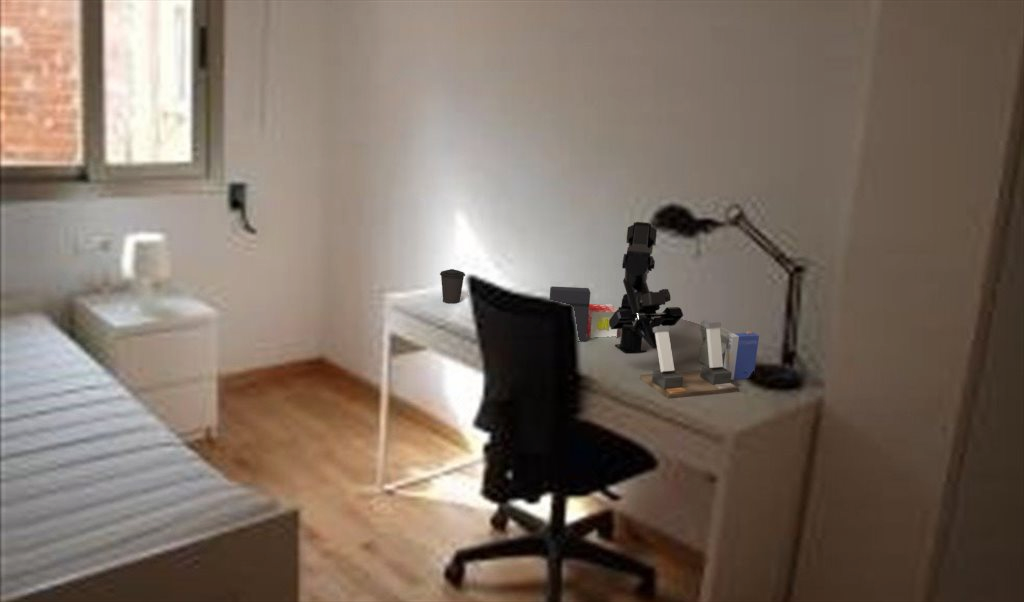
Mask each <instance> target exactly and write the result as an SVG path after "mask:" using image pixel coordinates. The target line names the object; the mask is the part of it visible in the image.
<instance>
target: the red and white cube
mask: <svg viewBox="0 0 1024 602" xmlns="http://www.w3.org/2000/svg"><path fill="white" fill-rule="evenodd" d="M617 310H618V309H617V308H616V307H615V306H614V305H612V304H611V303H607V304H606V303H602V304H601V303H599V304H597V303H596V304H595V303H590V304H589V313H588V325H587V337H588V338H589V339H595V338H594V337H607V336H609V337H611V336H616V337H617V338H618V329H611V328H610V324H609V320H610V318H611V317H612V316H613V314H614V313H615V312H616V311H617Z"/></svg>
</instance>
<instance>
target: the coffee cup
mask: <svg viewBox="0 0 1024 602" xmlns="http://www.w3.org/2000/svg"><path fill="white" fill-rule="evenodd" d="M439 275H440V279H441V280H440V281H441V292H442V293H441V295H442V302H444V303H445V304H449V305H450V304H453V305H454V304H455V305H456V304H460V302H461V297H462V292H463V291H462V290H463V285H464V277H465V276H466V273H465V272H464V271H461V270H458V269H454V268H450V269H445V270H441V271H440V272H439Z"/></svg>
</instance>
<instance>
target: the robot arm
mask: <svg viewBox="0 0 1024 602" xmlns="http://www.w3.org/2000/svg"><path fill="white" fill-rule="evenodd" d="M626 231H627V233H626V244H628V246H627V250H626V253H623V257H622V258H623V260H622V264H621V265H622V266H621V269H624V278H623V281H622V282H623V285H624V288H625V293H624V294H623V295H622V296H623V297H622V299H621V303H620V304H621V305H620V306H618V308H617V309H616V310H617V311H616V312H615V313H614V314H613V316H612V317H611V318H610V320H609V324H610V328H611V329H617V330H620V343H617V344H615V345H614V346H615V347H616V348H617V349H618V350H620V351H622V352H623V353H625V354H629V353H628V352H633V353H644V352H646V351H647V350H646V349H645V348H643V347H642V344H643V340H644V341H645V342H646V343H647V344H648V345H649V346H650V347H651V348H652V349H657V344H656V337H655V333H653V328H654V327H656V326H669V327H673V326H675V325H676V324H678V322H679V321H680V320H681V319H682V318H683V316H684V313H683V310H682V308H681V307H679V306H672V307H671V306H670V307H666V308H665V309H664V310H663V311H662V312H657V311H659V310H660V308H661V307H660V306H662V305H663V306H665V305H666V303H667V302H671V293H670V290H669V289H668V288H664V289H663V288H662V289H660V290H658V291H653V290H652V291H650V288H649V286H648V283H647V280H648V275H649V272H652V271H653V269H654V270H655V262H656V260H655V259H654V256H653V255H652V254H653V248H654V246H656V245H657V243H656V242H657V232H658V229H656V228H655V227H653V225H652V223H650V222H644V221H636V222H635V221H634V222H633V224H632V225H630V226H627V230H626Z"/></svg>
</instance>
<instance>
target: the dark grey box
mask: <svg viewBox="0 0 1024 602" xmlns="http://www.w3.org/2000/svg"><path fill="white" fill-rule="evenodd" d="M549 300H553V301H558V302H562V303H566V304H570V305H572V306H573V307H574V311H575V317H576V324H577V331H578V337H579V340H580V341H579V342H584V343H585V342H587V337H588V335H587V325H588V313H589V304H591V303H590V301H591V291H590V289H589V288H588V287H576V286H575V287H574V286H573V287H572V286H554V285H552V286H550V288H549ZM549 300H548V301H549Z"/></svg>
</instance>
